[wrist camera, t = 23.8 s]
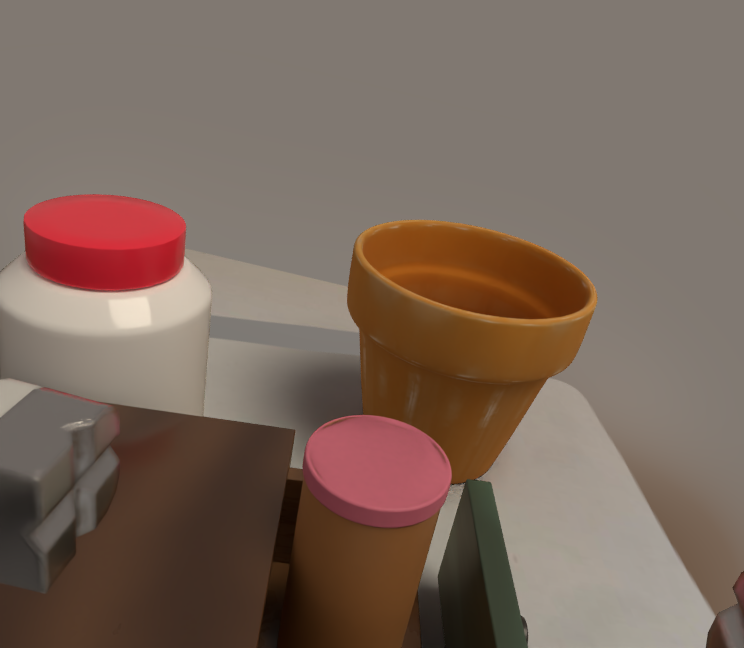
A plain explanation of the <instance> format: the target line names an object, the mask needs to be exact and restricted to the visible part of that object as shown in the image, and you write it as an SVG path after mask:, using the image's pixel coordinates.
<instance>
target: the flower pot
mask: <svg viewBox="0 0 744 648" xmlns="http://www.w3.org/2000/svg"><path fill="white" fill-rule="evenodd" d="M596 304H597V293H596V290H595V287H594V285H593V284H592V283H591V281H590V280H589V279H588V277H587V276H586V275H585V274H584V273H583V272H582V271H580V270H579V269H578V268H576V267H575V266H574V265H572V264H571V263H570V262H568V261H567V260H565V259H563V258H562V257H560V256H558V255H557V254H555V253H553V252H551V251H549V250H547V249H544V248H543V247H540V246H538V245H536V244H533V243H531V242H528V241H525V240H523V239H520V238H517V237H514V236H511V235H508V234H505V233H501V232H498V231H494V230H490V229H486V228H482V227H477V226H472V225H466V224H460V223H452V222H445V221H433V220H432V221H431V220H403V221H393V222H387V223H384V224H380V225H376V226H374V227H371V228H369V229H368V230H366V231H364V232H362V233H361V234H360V235H359V237H358V238H357V239H356V241H355V244H354V249H353V255H352V262H351V268H350V275H349V283H348V294H347V305H348V309H349V312H350V315H351V317H352V319H353V321H354V322H355V323H356V325H357V326H358V327H359V332H360V360H361V386H362V401H363V415H373V416H381V417H386V418H391V419H394V420H398V421H401V422H404V423H406V424H408V425H411V426H413V427H415V428H417V429H419V430H420V431H422V432H423V433H425V434H427V435H428V436H429V437H430V438H432V439H433V440H434V441H435V442H436V443H437V444H438V445H439V446H440V447H441V448H442V450H443V451H444V452H445V454H446V456H447V458H448V460H449V462H450V466H451V470H452V478H451V484H457V483H463V482H466V480H467V479H471V480H474V479H476V478H478V477H480V476H482V475H483V474H484V473H486V472H487V471H488V469H489V468H490V467H491V465H492V464H493V463H494V461H495V460H496V458H497V457H498V455H499V454H500V452H501V451H502V449H503V448H504V446H505V445H506V443H507V442H508V440H509V439H510V437H511V436H512V434H513V433H514V431H515V429H516V428H517V426H518V425H519V423H520V422H521V420H522V418H523V417H524V415H525V414H526V412H527V410H528V409H529V407H530V406H531V404H532V402H533V401H534V399H535V398H536V396H537V394H538V393H539V391H540V390H541V388H542V387H543V385H544V384H545V382H546V380H547V379H548V378H550V377H552V376H554V375H556V374H558V373H560V372H562V371H563V370H564V369H566V368H567V367H568V366H569V365H570V364H571V363H572V361H573V360H574V358H575V356H576V354H577V352H578V350H579V348H580V346H581V343H582V341H583V339H584V336H585V333H586V330H587V328H588V325H589V323H590V320H591V318H592V315H593V312H594V309H595V307H596Z"/></svg>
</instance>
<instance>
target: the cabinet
mask: <svg viewBox="0 0 744 648" xmlns="http://www.w3.org/2000/svg"><path fill="white" fill-rule="evenodd" d="M101 403H104V402H101ZM105 404H108V405H112V406H114V407H115V408H116V409H117V410H118V411H119V416H120V434H119V435H118V436H117V437H116V438H115V440H114V441H113V442H112V443H111V444H110V446H111V447H112V449H113V450H114V452H115V453H116V455H117V456H118V458H119V459H120V476H119V481H118V486H117V491H116V494H115V496H114V498H113V500H112V503H111V505H110V507H109V510H108V512H107V514H106V515H105V516H104V518H103V519H102V520H101V522H100V523H99V525H98V526H97V527H96V529H94V530H92V531H90V532H87V533H85V534H83V535H81V536H78V537H76V555H75V556H74V558H73V559H72V560H71V561H70V563H69V564H68V565H67V567H66V568H65V569H64V571H63V572H62V573H61V574H60V576H59V577H58V578H57V580H56V581H55V582H54V584H53V585H52V586H51V587H50V589H49V590H48V591H47V593H46V594H44V593H40V592H36V591H32V590H28V589H23V588H19V587H15V586H11V585H7V584H3V583H0V648H258V644H259V638H260V632H261V626H262V621H263V615H264V609H265V604H266V598H267V592H268V586H269V581H270V575H271V569H272V564H273V558H274V552H275V546H276V541H277V535H278V529H279V524H280V518H281V512H282V506H283V501H284V495H285V489H286V484H287V478H288V472H289V467H290V464H291V457H292V450H293V444H294V437H295V430H293V429H286V428H279V427H272V426H265V425H258V424H251V423H244V422H237V421H230V420H223V419H216V418H209V417H202V416H195V415H188V414H181V413H174V412H167V411H160V410H153V409H146V408H139V407H132V406H125V405H118V404H111V403H105Z"/></svg>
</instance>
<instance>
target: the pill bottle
mask: <svg viewBox="0 0 744 648" xmlns="http://www.w3.org/2000/svg"><path fill="white" fill-rule="evenodd" d="M24 236H25V251H24V252H23V253H22V254H20V255H19V256H18V257H17V258H15V259H14V260H13V261H12V262H10V263H9V264H8V265H7V266H6V267H5V268H3V269H2V271H0V380H1V379H7V378H11V379H15V380H18V381H22V382H26V383H30V384H34V385H37V386H40V387H42V388H43V387H46V388H50V389H54V390H57V391H61V392H65V393H68V394H72V395H76V396H79V397H83V398H86V399H90V400H94V401H97V402H104V403H111V404H118V405H125V406H132V407H139V408H146V409H153V410H160V411H167V412H174V413H181V414H188V415H195V416H202V417H203V414H204V400H205V386H206V373H207V359H208V345H209V332H210V317H211V304H212V288H211V285H210V283H209V280H208V279H207V277H206V276H205V275H204V274H203V273H202V272H201V270H200V269H199V268H198V267H197V266H196V265H194V264H193V263H192V262H191V261H190V260H189V259H188V258H187V257H186V256H185V238H186V224H185V221H184V219H183V218H182V217H180V215H179V214H177V213H176V212H174V211H173V210H171V209H169V208H167V207H164V206H162V205H159V204H156V203H153V202H150V201H146V200H141V199H137V198H131V197H125V196H115V195H96V194H93V195H73V196H65V197H59V198H54V199H50V200H46V201H44V202H41V203H39V204H36V205H34V206H33V207H31V208H30V209H29V210H28V211H27V212H26V213H25V215H24Z"/></svg>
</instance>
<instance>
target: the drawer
mask: <svg viewBox="0 0 744 648" xmlns="http://www.w3.org/2000/svg"><path fill="white" fill-rule="evenodd" d="M303 477H304V476H303V469H297V468H290V467H289V472H288V478H287V484H286V489H285V495H284V501H283V506H282V512H281V518H280V524H279V529H278V535H277V541H276V546H275V552H274V558H273V564H272V569H271V575H270V581H269V586H268V592H267V598H266V604H265V609H264V615H263V621H262V626H261V632H260V638H259V644H258V648H277V640H278V634H279V627H280V621H281V615H282V609H283V602H284V596H285V590H286V584H287V577H288V571H289V565H290V559H291V552H292V546H293V540H294V534H295V527H296V521H297V515H298V509H299V502H300V496H301V490H302V484H303ZM438 584H439V594H440V604H441V614H442V624H443V634H444V644H445V648H528V646H527V644H528V629H527V624H526V621H525V619H524V617H522V616H521V615H520V610H519V606H518V601H517V597H516V592H515V588H514V583H513V579H512V574H511V570H510V565H509V561H508V556H507V552H506V547H505V543H504V538H503V534H502V529H501V525H500V520H499V516H498V512H497V507H496V503H495V498H494V494H493V489H492V485H491V483H490V482H486V481H479V480H471V479H467V480H466V482H465V486H464V489H463V492H462V496H461V499H460V502H459V506H458V509H457V513H456V516H455V519H454V523H453V526H452V529H451V533H450V536H449V540H448V543H447V546H446V550H445V553H444V556H443V560H442V563H441V566H440V570H439V573H438ZM401 648H422V647H421V631H420V616H419V601H418V590H417V593H416V597H415V601H414V604H413V608H412V611H411V615H410V618H409V622H408V625H407V629H406V632H405V636H404V640H403V643H402V647H401Z"/></svg>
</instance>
